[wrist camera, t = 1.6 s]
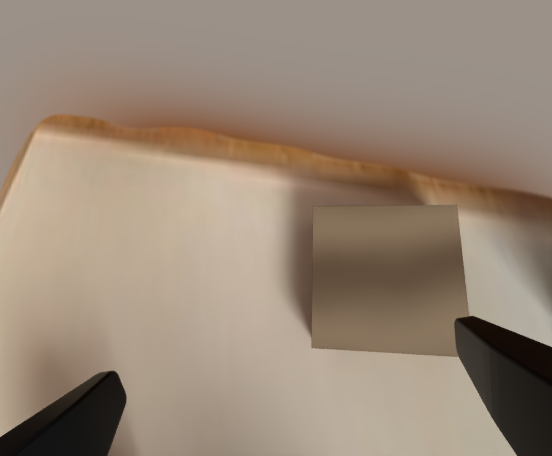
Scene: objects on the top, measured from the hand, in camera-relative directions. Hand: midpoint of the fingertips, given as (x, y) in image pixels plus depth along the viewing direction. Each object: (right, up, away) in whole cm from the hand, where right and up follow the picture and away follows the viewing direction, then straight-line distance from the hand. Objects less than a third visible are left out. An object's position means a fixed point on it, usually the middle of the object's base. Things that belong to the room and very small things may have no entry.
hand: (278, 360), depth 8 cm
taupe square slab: (+7, 0, +15) cm, 17 cm away
